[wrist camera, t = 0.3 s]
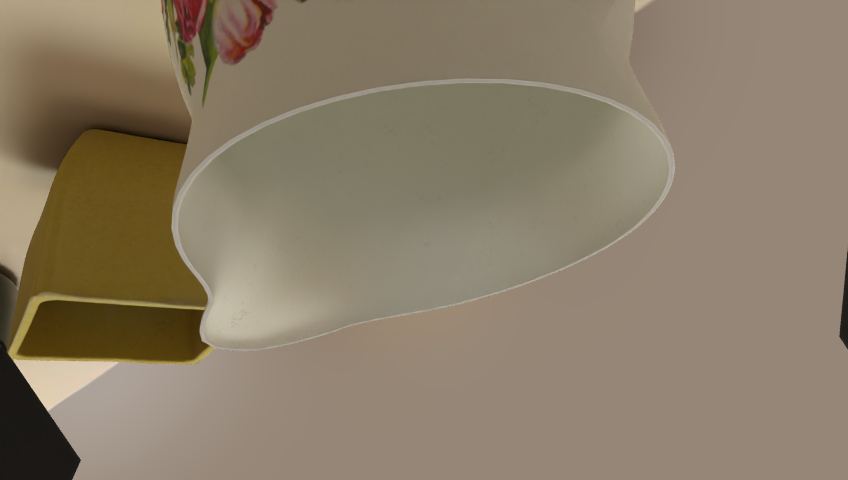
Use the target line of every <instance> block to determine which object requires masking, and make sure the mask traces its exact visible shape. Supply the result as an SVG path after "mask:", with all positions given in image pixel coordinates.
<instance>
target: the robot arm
mask: <svg viewBox="0 0 848 480" xmlns="http://www.w3.org/2000/svg"><path fill="white" fill-rule="evenodd" d="M844 284H845V285H844V294H843V304H842V315H841V325H840V338H841V340H842V341H843V343H844V344H845V346H846V347H847V349H848V252H847V262H846V274H845V283H844ZM80 461H81V460H80V458H79V457H78V455H77V454H76V452H75V451H74V450H73V448H72V447H71V445H70V444H69V442H68V441H67V439H66V438H65V436H64V435H63V433H62V432H61V431H60V429H59V428H58V426H57V425H56V423H55V422H54V420H53V419H52V417H51V416H50V414H49V413H48V411H47V410H46V408H45V407H44V406H43V404H42V403H41V401H40V400H39V398H38V397H37V395H36V394H35V392H34V391H33V389H32V388H31V386H30V385H29V383H28V382H27V381H26V379H25V378H24V376H23V375H22V373H21V372H20V370H19V369H18V367H17V366H16V364H15V363H14V361H13V360H12V359H11V357H10V356H9V354H8V353H7V351H6V350H5V348H4V347H0V480H72V479H73V476H74V474H75V472H76V470H77V468H78V465H79V463H80Z"/></svg>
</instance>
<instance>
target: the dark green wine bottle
mask: <svg viewBox="0 0 848 480" xmlns="http://www.w3.org/2000/svg"><path fill="white" fill-rule="evenodd" d="M17 297H18V290H17V288H16V286H15V284H14V283H13V282H12V281H11V280H10V279H9V278H8V277H6V276H5V275H3V274H1V273H0V347H4V348H5V350H6V351H7V348H8V343H9V337H10V332H11V327H12V322H13V317H14V312H15V307H16V302H17ZM12 360H14V359H12Z"/></svg>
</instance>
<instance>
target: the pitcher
mask: <svg viewBox="0 0 848 480" xmlns="http://www.w3.org/2000/svg"><path fill="white" fill-rule="evenodd" d="M161 3H162V14H163V20H164V25H165V31H166V36H167V42H168V48H169V53H170V58H171V61H172V65H173V68H174V71H175V75H176V78H177V81H178V84H179V88H180V91H181V93H182V96H183V98H184V101H185V104H186V106H187V109H188V111H189V114H190V116H191V119H192V124H191V129H190V134H189V139H188V144H187V148H186V152H185V156H184V160H183V164H182V167H181V171H180V175H179V179H178V182H177V186H176V190H175V195H174V201H173V210H172V233H173V238H174V242H175V246H176V248H177V250H178V252H179V254H180V256H181V257H182V259H183V261H184V262H185V264H186V265H187V266H188V268H189V269H190V270H191V271H192V273H193V274H194V275H195V276H196V278H197V279H198V280H199V281H200V283H201V284H202V285H203V287H204V289H205V291H206V293H207V295H208V302H207V305H206V307H205V310H204V313H203V315H202V319H201V324H200V335H201V339H202V341H203V342H205V343H206V344H208V345H210V346H211V347H214V348H219V349H224V350H232V351H234V350H235V351H253V350H265V349H270V348H274V347H280V346H285V345H289V344H294V343H297V342H301V341H305V340H309V339H313V338H316V337H319V336H323V335H326V334H329V333H332V332H335V331H338V330H341V329H344V328H346V327H349V326H354V325H358V324H362V323H366V322H371V321H376V320H381V319H386V318H391V317H397V316H403V315H408V314H414V313H419V312H425V311H430V310H435V309H440V308H444V307H449V306H453V305H458V304H462V303H466V302H469V301H473V300H477V299H480V298H484V297H487V296H491V295H494V294H497V293H501V292H504V291H507V290H510V289H513V288H516V287H519V286H522V285H525V284H527V283H530V282H533V281H536V280H538V279H541V278H543V277H546V276H548V275H551V274H553V273H555V272H558V271H561V270H563V269H565V268H567V267H570V266H572V265H574V264H576V263H578V262H581V261H583V260H585V259H587V258H589V257H591V256H593V255H595V254H596V253H598V252H600V251H602V250H604V249H606V248H607V247H609V246H611V245H612V244H614V243H616V242H617V241H618V240H620V239H622V238H623V237H625V236H626V235H628V234H629V233H631V232H632V231H633V230H634V229H636V228H637V227H638V226H639V225H641V224H642V223H643V222H644V221H645V220H646V219H647V218H648V217H649V216H650V215H651V214H652V213H653V212H654V211H655V210H656V209H657V208H658V206H659V205H660V204H661V202H662V201H663V199H664V198H665V197H666V195H667V193H668V190H669V188H670V186H671V184H672V182H673V177H674V170H675V162H674V155H673V150H672V147H671V145H670V142H669V140H668V138H667V135H666V133H665V131H664V129H663V127H662V124H661V122H660V120H659V118H658V116H657V115H656V113H655V111H654V110H653V108H652V106H651V104H650V103H649V100H648V99H647V97H646V95H645V93H644V91H643V90H642V88H641V86H640V84H639V82H638V81H637V79H636V76H635V74H634V72H633V70H632V68H631V65H630V63H629V57H630V50H631V42H632V37H633V21H634V7H635V0H161Z"/></svg>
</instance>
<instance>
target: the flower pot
mask: <svg viewBox="0 0 848 480" xmlns="http://www.w3.org/2000/svg"><path fill="white" fill-rule="evenodd" d="M186 148H187V145H186V144H181V143H175V142H169V141H163V140H156V139H150V138H144V137H139V136H133V135H127V134H122V133H116V132H111V131H105V130H98V129H89V130H86V131H85V132H84V133H82V134H81V136H80V137H79V138H78V139H77V140H76V142H75V143H74V144H73V145H72V147H71V148H70V149H69V151H68V152H67V154H66V156H65V157H64V159H63V161H62V163H61V165H60V167H59V169H58V171H57V173H56V175H55V178H54V181H53V184H52V186H51V189H50V192H49V196H48V198H47V201H46V204H45V207H44V210H43V212H42V215H41V217H40V220H39V222H38V224H37V227H36V229H35V231H34V234H33V237H32V239H31V242H30V245H29V248H28V251H27V255H26V258H25V263H24V267H23V271H22V276H21V281H20V287H19V292H18V297H17V302H16V307H15V312H14V317H13V322H12V327H11V332H10V337H9V343H8V348H7V353H8V354H9V356H10V357H11V359H16V360H42V361H43V360H47V361H49V360H54V361H112V362H133V363H151V364H196V363H198V362H200V361H202V360H203V359H204V358H205V357H206V356H207V355H208V354H209V353H210V352H211V351H213V350H214V349H215V348H214V347H211V346H210V345H208V344H206V343H205V342H203V341H202V339H201V335H200V324H201V319H202V315H203V313H204V310H205V307H206V305H207V302H208V295H207V293H206V291H205V289H204V287H203V285H202V284H201V283H200V281H199V280H198V279H197V278H196V276H195V275H194V274H193V273H192V271H191V270H190V269H189V268H188V266H187V265H186V264H185V262H184V261H183V259H182V257H181V256H180V254H179V252H178V250H177V248H176V246H175V242H174V238H173V233H172V210H173V201H174V195H175V190H176V186H177V182H178V179H179V175H180V171H181V167H182V164H183V160H184V156H185V152H186Z"/></svg>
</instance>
